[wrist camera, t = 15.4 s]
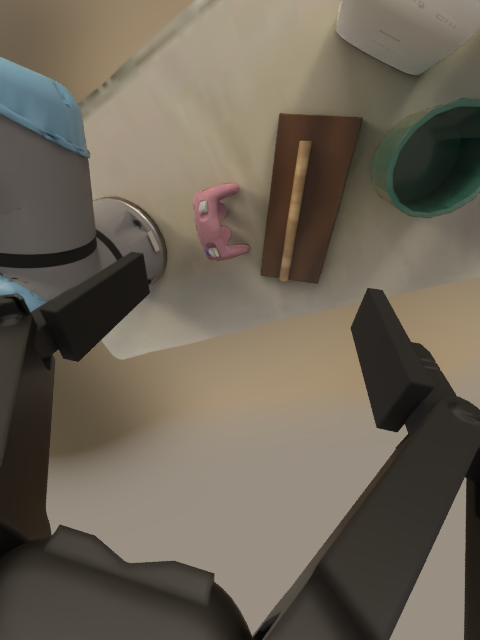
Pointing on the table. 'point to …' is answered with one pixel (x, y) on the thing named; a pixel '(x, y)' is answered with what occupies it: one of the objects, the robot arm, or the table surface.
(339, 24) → the photo printer
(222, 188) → the video game controller
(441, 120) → the coffee cup
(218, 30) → the table surface
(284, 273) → the stirrer
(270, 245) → the board
